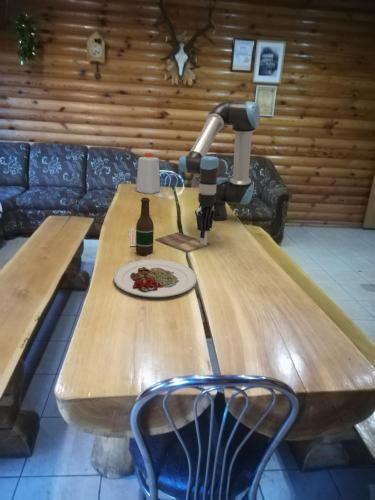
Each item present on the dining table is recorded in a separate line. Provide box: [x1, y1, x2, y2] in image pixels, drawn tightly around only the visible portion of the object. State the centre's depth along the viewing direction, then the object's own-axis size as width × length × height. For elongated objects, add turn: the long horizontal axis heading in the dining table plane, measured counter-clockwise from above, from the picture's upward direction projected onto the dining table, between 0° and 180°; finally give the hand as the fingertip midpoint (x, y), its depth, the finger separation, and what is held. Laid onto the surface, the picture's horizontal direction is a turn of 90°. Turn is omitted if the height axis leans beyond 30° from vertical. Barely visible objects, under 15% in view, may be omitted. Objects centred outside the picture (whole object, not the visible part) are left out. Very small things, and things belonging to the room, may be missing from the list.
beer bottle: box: [135, 197, 155, 257], centre depth 144 cm, size 8×8×24 cm
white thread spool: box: [135, 152, 161, 195], centre depth 254 cm, size 15×15×28 cm
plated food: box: [112, 258, 197, 298], centre depth 125 cm, size 30×30×3 cm
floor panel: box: [154, 231, 197, 249], centre depth 164 cm, size 16×12×1 cm
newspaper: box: [128, 228, 136, 248], centre depth 164 cm, size 24×7×2 cm, turn 9°
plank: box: [173, 238, 211, 254], centre depth 157 cm, size 16×8×1 cm, turn 139°
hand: (203, 244), depth 158 cm, fingers closed
